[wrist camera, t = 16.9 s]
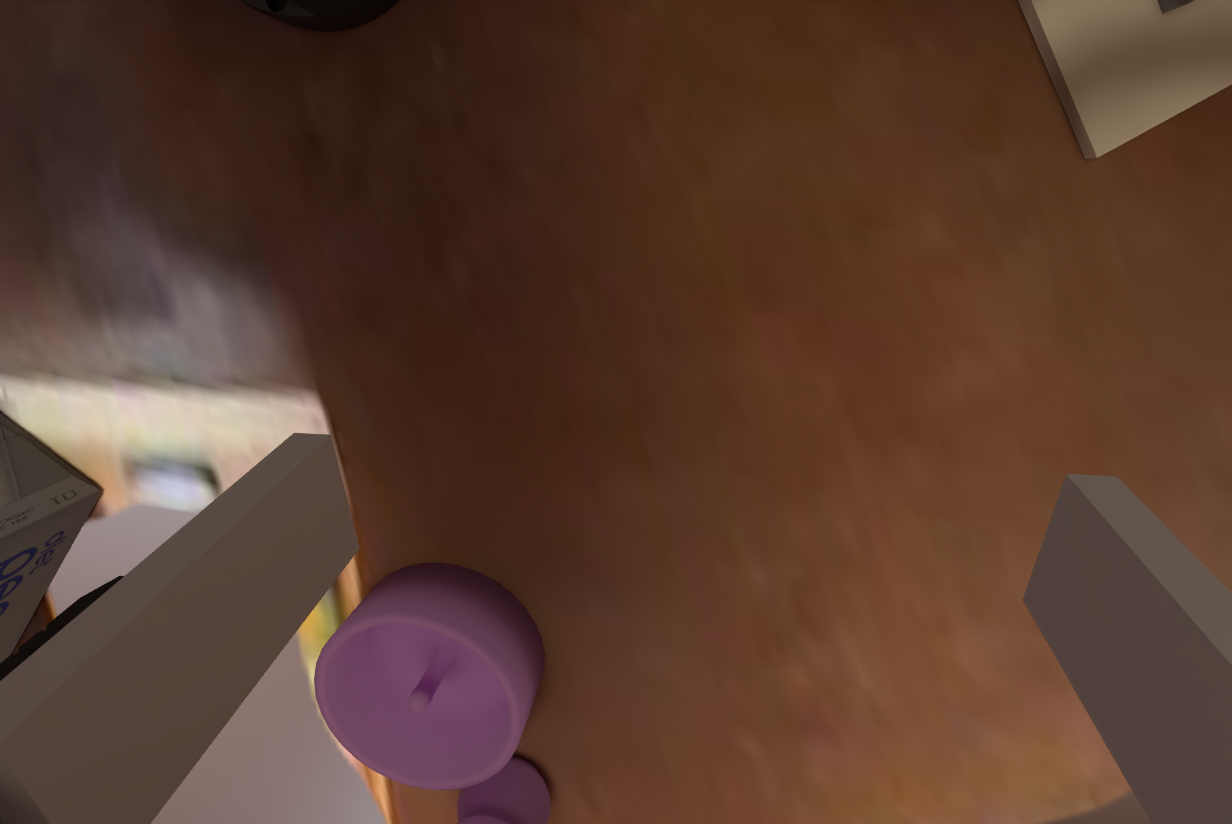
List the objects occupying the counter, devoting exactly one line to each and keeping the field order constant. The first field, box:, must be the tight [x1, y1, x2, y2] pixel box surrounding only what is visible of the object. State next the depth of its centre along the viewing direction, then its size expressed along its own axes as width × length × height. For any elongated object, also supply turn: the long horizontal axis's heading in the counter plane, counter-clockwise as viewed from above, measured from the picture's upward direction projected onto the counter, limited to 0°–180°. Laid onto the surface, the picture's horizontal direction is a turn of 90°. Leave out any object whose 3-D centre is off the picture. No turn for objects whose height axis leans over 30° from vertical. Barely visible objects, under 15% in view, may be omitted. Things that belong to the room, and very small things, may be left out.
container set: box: [314, 563, 550, 824], centre depth 47 cm, size 25×15×13 cm, turn 19°
